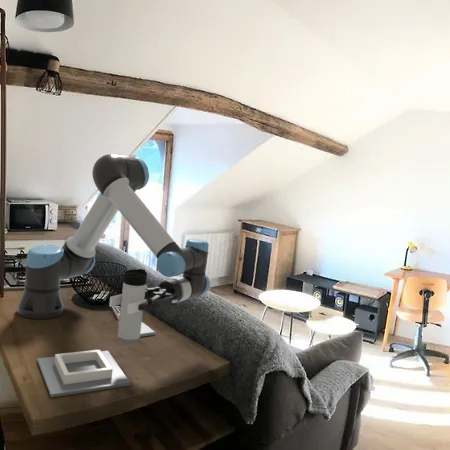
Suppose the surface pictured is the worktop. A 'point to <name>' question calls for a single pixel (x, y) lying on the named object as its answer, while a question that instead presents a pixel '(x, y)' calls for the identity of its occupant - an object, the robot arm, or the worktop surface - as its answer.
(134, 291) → the travel mug
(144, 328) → the external hard drive
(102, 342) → the worktop surface
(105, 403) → the worktop surface
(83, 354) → the dock
